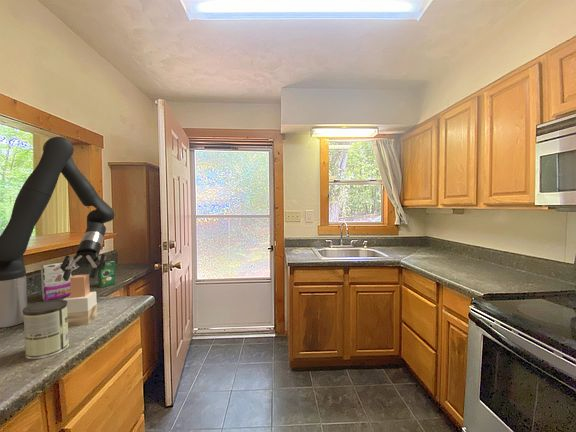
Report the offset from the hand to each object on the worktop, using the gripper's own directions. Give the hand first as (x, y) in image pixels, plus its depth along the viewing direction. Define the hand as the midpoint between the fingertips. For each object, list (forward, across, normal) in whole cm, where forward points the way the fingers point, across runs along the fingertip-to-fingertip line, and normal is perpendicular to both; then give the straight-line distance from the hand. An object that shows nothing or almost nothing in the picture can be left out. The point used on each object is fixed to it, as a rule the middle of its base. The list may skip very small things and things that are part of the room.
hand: (78, 279), depth 106 cm
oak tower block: (+11, 0, +12) cm, 17 cm away
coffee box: (-25, -8, +48) cm, 55 cm away
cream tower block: (+8, 0, +9) cm, 12 cm away
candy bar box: (-14, -24, +37) cm, 46 cm away
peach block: (+4, 0, +6) cm, 7 cm away
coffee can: (+27, 0, -4) cm, 27 cm away
